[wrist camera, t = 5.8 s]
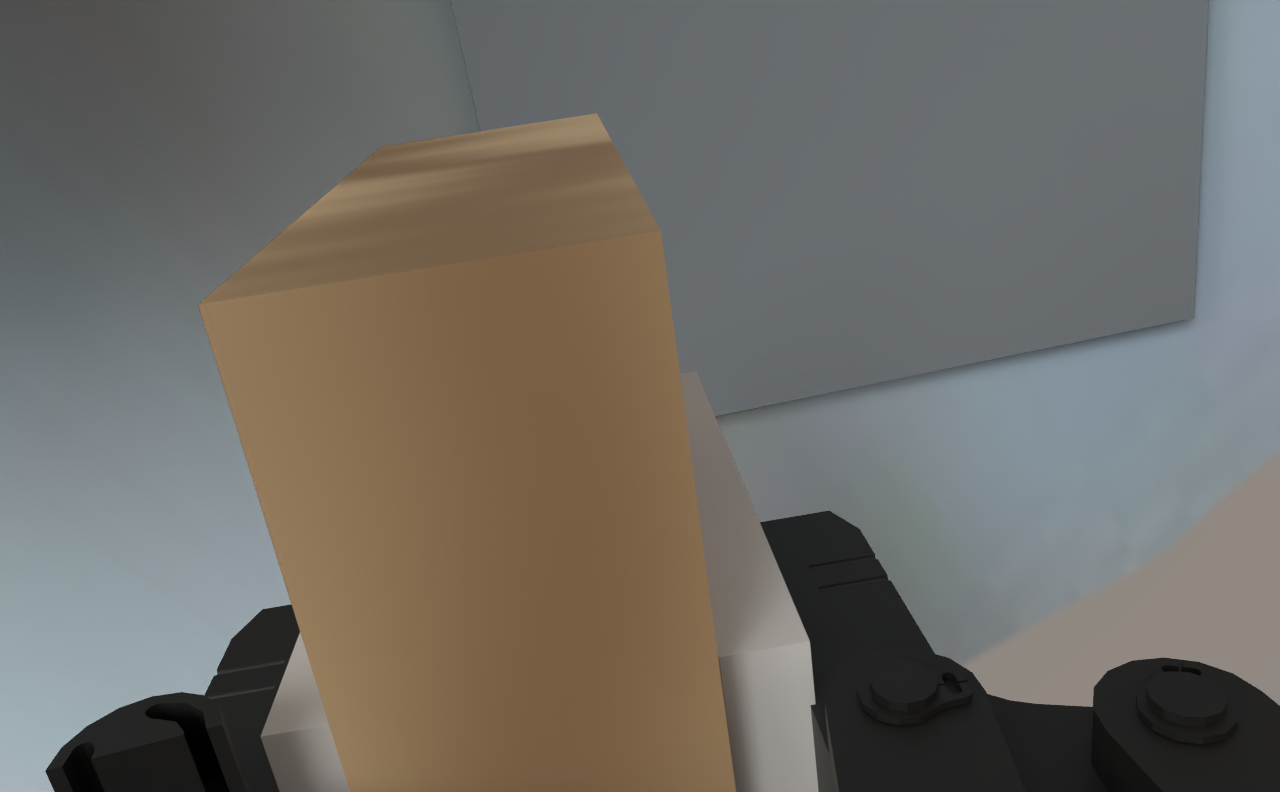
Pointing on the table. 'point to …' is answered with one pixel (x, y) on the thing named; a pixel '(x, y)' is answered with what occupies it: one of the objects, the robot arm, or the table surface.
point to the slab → (483, 469)
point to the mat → (879, 169)
